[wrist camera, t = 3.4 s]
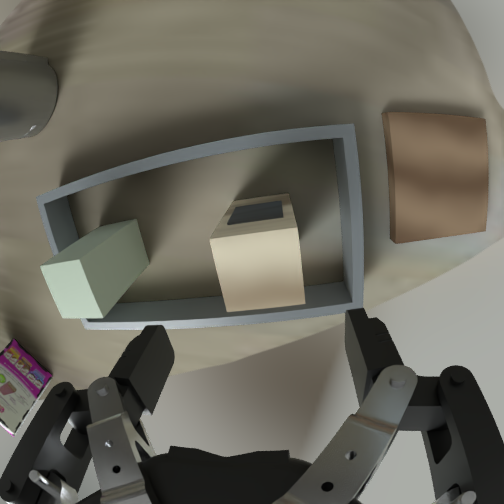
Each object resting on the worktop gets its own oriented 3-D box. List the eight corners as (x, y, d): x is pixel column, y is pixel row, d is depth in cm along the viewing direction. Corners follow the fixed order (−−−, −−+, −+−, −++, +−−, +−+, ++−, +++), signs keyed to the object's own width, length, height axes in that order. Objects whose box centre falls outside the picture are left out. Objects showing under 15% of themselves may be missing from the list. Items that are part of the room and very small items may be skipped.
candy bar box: (12, 348, 39) (-29, 396, 24) (13, 337, 38) (-32, 388, 23) (50, 384, 42) (14, 438, 27) (54, 376, 40) (14, 434, 25)
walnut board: (381, 113, 21) (387, 112, 20) (476, 118, 19) (485, 118, 18) (390, 238, 25) (395, 243, 24) (478, 226, 24) (485, 231, 22)
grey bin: (58, 188, 26) (35, 197, 22) (341, 125, 22) (353, 123, 18) (100, 311, 32) (85, 329, 28) (352, 288, 28) (362, 310, 24)
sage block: (99, 226, 27) (40, 266, 18) (136, 218, 27) (79, 259, 17) (112, 268, 29) (62, 318, 20) (149, 263, 28) (103, 318, 19)
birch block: (232, 199, 25) (208, 236, 16) (288, 191, 25) (297, 224, 15) (242, 252, 27) (227, 312, 18) (295, 245, 27) (305, 303, 17)
